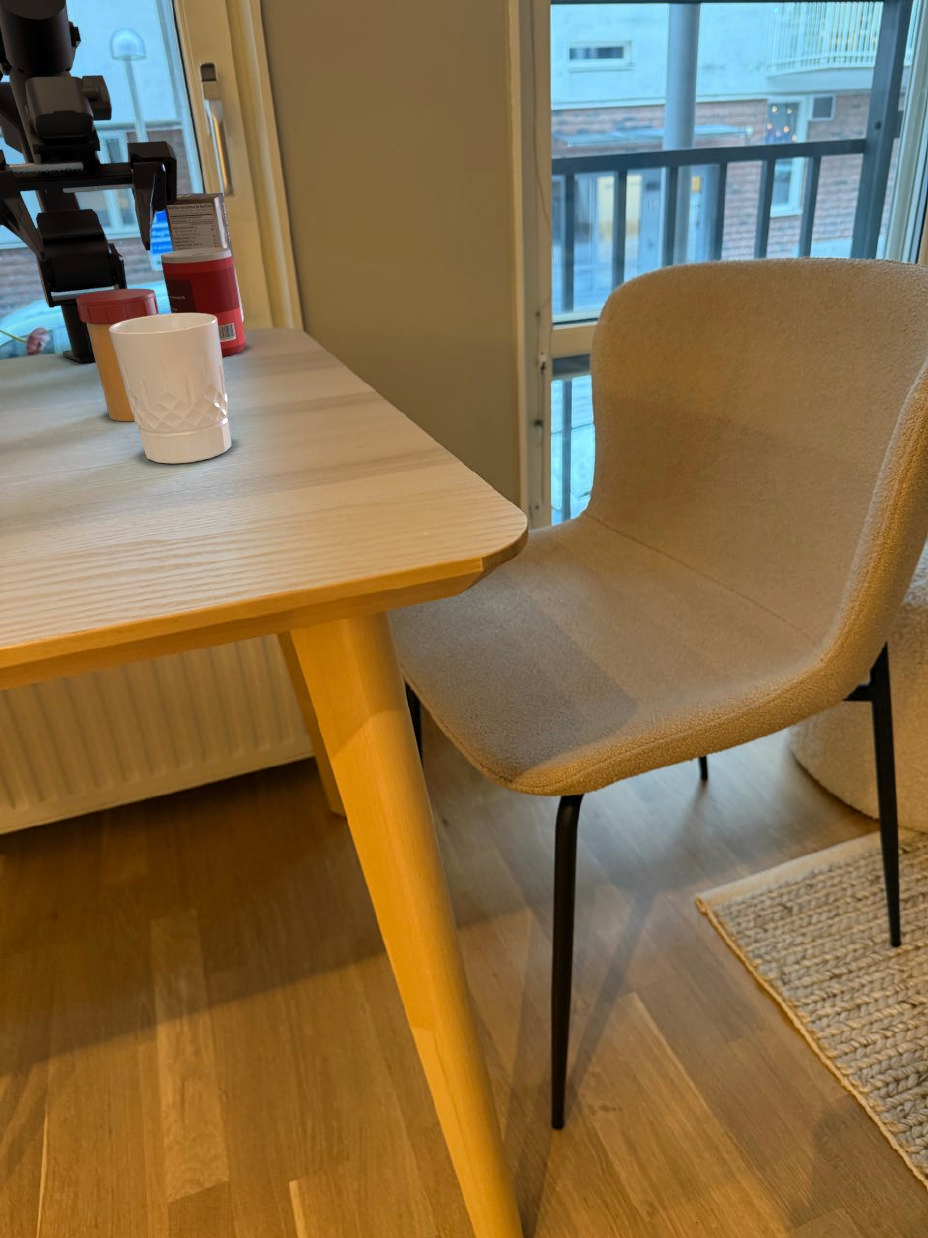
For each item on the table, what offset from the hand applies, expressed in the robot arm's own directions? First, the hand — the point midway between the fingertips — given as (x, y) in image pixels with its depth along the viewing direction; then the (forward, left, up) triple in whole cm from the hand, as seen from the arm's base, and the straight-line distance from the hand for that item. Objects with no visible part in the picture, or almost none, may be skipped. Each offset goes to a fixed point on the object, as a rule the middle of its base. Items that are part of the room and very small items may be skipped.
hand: (97, 252), depth 82 cm
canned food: (-13, +15, -14) cm, 24 cm away
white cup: (+21, -4, -14) cm, 25 cm away
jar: (+7, -1, -13) cm, 15 cm away
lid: (+7, -1, -3) cm, 8 cm away
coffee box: (-26, +22, -14) cm, 37 cm away
